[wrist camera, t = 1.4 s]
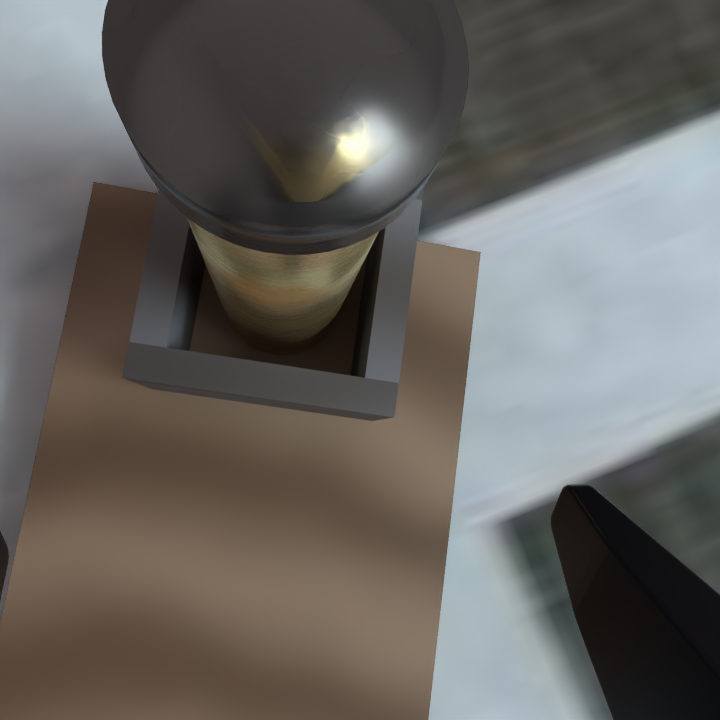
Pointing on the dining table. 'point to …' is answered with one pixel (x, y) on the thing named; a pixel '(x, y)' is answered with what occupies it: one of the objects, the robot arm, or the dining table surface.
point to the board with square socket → (238, 490)
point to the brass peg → (286, 136)
